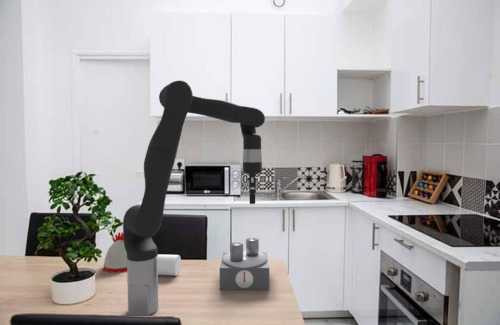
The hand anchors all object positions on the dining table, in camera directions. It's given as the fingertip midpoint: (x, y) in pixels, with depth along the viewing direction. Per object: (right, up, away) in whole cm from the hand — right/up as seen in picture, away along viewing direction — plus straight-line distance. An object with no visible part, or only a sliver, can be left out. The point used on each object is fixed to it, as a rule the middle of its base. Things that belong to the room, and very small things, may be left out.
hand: (252, 202), depth 128 cm
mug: (-35, -30, +6) cm, 47 cm away
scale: (-3, -30, -1) cm, 30 cm away
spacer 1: (-6, -21, -5) cm, 23 cm away
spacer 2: (0, -21, +1) cm, 21 cm away
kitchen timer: (-57, -30, +14) cm, 66 cm away
